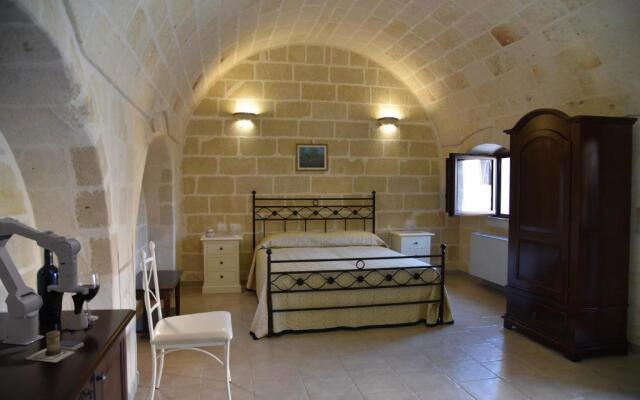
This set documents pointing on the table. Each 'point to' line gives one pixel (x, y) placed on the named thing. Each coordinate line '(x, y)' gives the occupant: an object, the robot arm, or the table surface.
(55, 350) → the stamp
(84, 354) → the table surface
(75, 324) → the flask
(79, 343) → the ink pad
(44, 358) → the paper sheet
